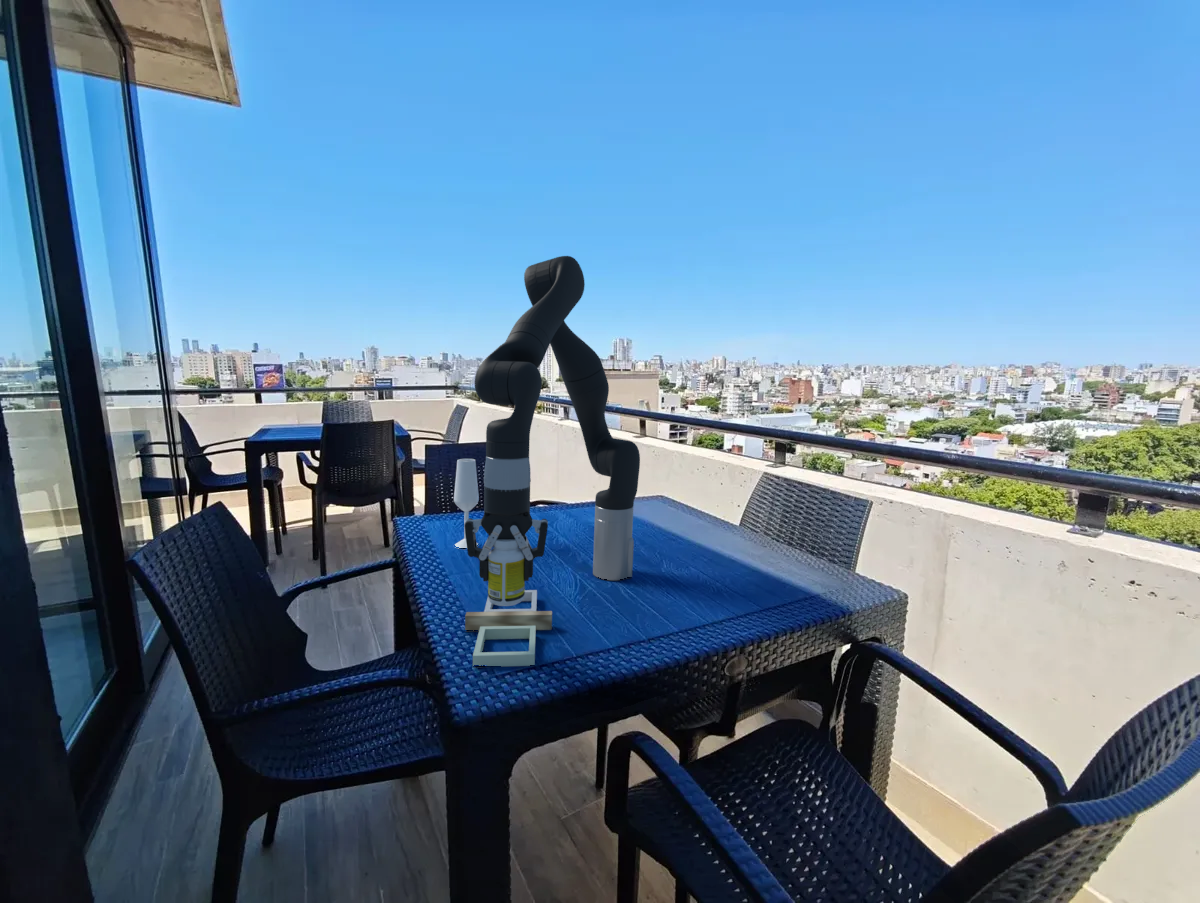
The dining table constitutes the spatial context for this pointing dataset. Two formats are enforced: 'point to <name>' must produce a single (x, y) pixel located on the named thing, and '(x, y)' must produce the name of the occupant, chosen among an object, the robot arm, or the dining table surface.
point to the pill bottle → (506, 573)
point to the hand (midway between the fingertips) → (506, 579)
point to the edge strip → (509, 619)
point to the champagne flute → (466, 490)
